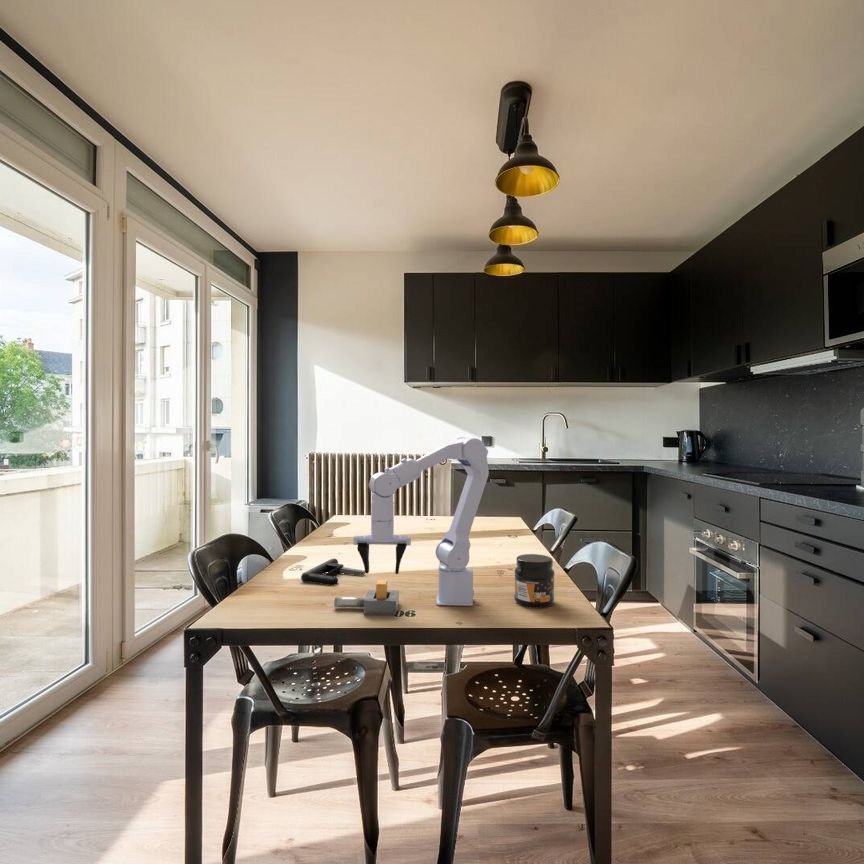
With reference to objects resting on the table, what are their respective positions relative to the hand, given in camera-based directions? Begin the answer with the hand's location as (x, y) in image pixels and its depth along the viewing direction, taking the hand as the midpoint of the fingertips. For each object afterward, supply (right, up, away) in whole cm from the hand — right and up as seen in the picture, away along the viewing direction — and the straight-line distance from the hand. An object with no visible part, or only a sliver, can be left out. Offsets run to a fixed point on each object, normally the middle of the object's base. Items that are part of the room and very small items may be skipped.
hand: (382, 572), depth 142 cm
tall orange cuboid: (0, -9, 0) cm, 9 cm away
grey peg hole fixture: (-4, -9, 0) cm, 10 cm away
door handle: (-17, -9, +30) cm, 36 cm away
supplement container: (+40, -10, +6) cm, 42 cm away
